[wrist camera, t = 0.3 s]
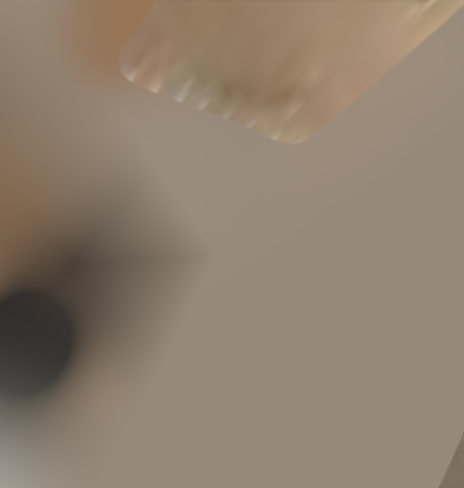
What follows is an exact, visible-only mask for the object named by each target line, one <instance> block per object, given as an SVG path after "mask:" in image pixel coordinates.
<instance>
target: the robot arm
mask: <svg viewBox="0 0 464 488" xmlns="http://www.w3.org/2000/svg"><path fill="white" fill-rule="evenodd" d="M439 488H464V434H463V436H462V438H461V440H460V442H459V444H458V447H457V449H456V451H455V453H454V455H453V458H452V460H451V462H450V464H449V466H448V469H447V471H446V473H445V475H444V478H443V480H442V482H441V484H440V486H439Z"/></svg>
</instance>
